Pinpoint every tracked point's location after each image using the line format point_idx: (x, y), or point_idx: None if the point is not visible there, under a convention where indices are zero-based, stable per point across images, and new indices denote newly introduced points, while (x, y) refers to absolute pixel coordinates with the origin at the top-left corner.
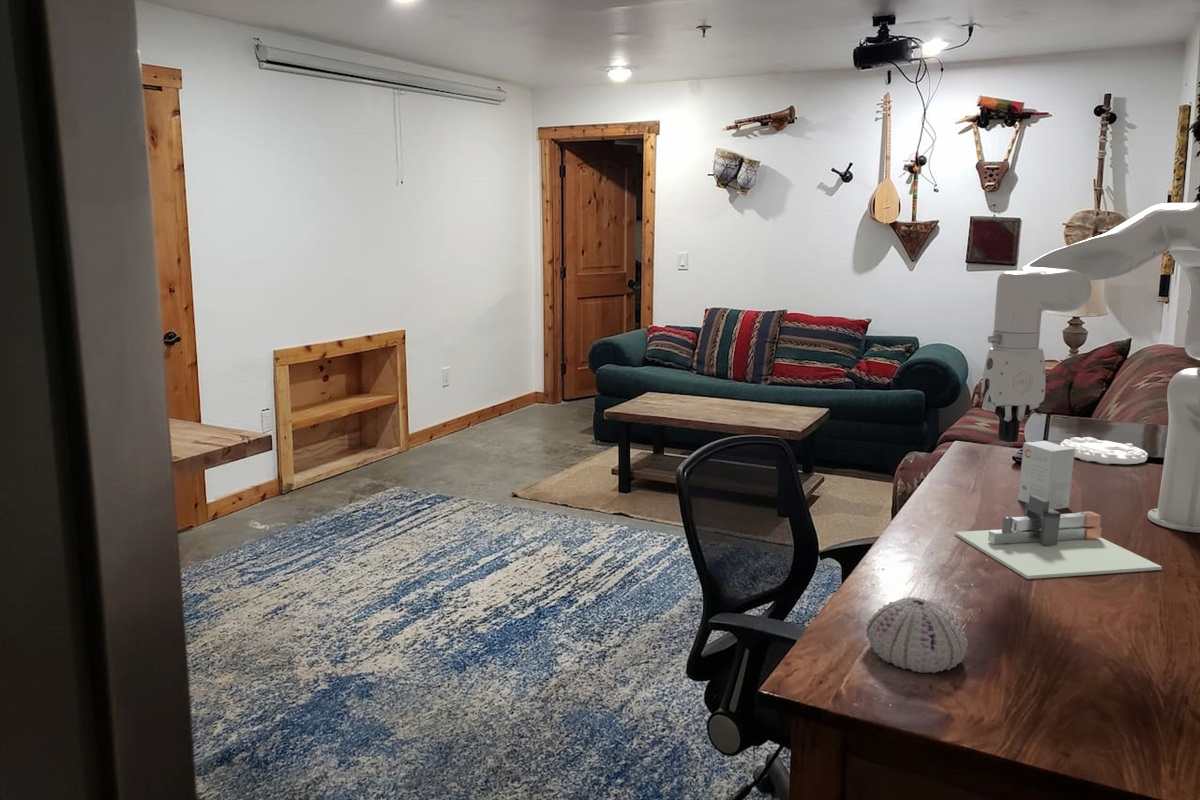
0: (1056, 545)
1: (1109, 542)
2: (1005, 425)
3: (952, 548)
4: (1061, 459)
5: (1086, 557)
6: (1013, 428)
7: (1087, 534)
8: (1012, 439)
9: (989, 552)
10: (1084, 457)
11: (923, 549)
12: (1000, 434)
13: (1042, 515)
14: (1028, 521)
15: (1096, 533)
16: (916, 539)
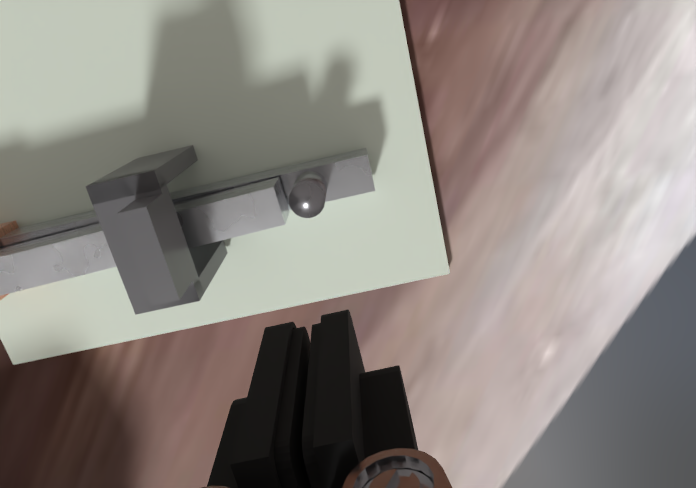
0: None
1: None
2: (399, 438)
3: (511, 137)
4: None
5: (70, 41)
6: (309, 394)
7: (3, 226)
8: (316, 328)
9: (410, 70)
10: None
11: (621, 120)
12: (409, 412)
13: (165, 188)
14: (222, 198)
15: None
16: (600, 219)
